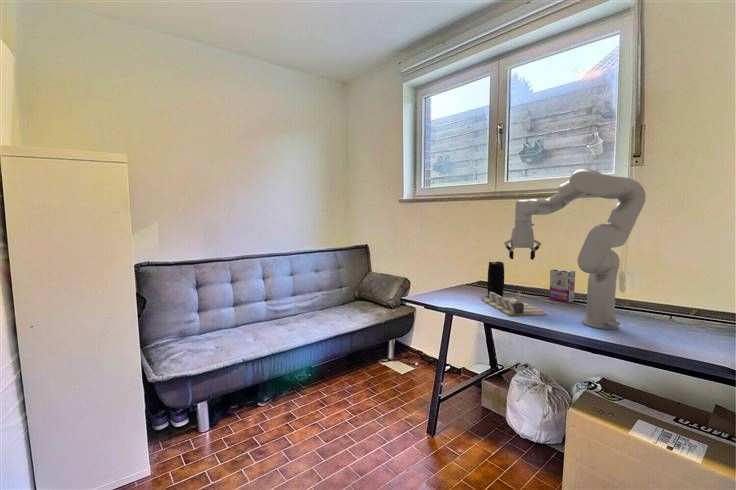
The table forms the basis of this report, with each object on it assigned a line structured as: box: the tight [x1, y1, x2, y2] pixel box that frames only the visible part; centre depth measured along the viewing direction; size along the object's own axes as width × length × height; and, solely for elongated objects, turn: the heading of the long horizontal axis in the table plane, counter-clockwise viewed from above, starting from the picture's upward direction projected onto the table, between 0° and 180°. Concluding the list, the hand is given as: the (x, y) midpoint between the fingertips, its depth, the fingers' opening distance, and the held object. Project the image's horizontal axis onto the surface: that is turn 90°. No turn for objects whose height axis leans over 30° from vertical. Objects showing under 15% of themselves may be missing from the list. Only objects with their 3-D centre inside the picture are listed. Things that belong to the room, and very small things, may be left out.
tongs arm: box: [516, 291, 522, 303], centre depth 168 cm, size 25×2×4 cm, turn 155°
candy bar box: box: [549, 268, 576, 304], centre depth 182 cm, size 11×5×16 cm, turn 25°
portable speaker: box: [487, 261, 505, 297], centre depth 190 cm, size 9×9×20 cm
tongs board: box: [481, 292, 548, 317], centre depth 169 cm, size 30×18×5 cm, turn 5°
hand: (521, 259), depth 172 cm, fingers open, 9 cm apart
